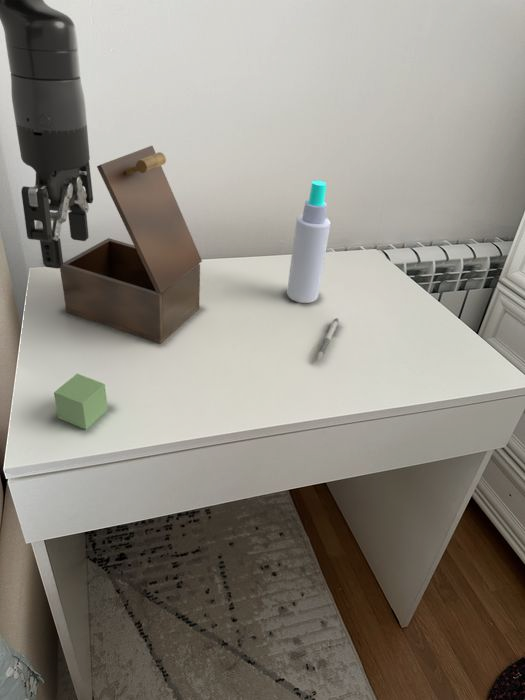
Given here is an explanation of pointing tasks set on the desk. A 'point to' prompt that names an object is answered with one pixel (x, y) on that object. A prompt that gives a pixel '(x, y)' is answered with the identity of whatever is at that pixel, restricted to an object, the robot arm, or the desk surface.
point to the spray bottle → (309, 247)
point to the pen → (327, 339)
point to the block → (81, 401)
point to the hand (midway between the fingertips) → (67, 252)
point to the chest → (126, 292)
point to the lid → (151, 215)
